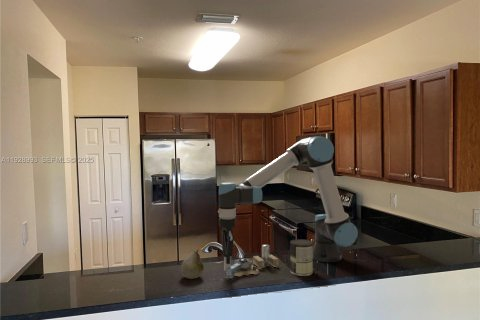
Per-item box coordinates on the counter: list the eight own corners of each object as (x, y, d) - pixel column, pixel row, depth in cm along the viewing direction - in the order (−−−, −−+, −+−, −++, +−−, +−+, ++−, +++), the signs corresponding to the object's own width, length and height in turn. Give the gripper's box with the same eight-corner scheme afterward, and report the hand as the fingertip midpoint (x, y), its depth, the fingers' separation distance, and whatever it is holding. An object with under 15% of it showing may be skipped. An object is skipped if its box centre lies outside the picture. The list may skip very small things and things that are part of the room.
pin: (260, 265, 173) (260, 244, 173) (267, 264, 174) (267, 244, 174) (263, 267, 169) (263, 246, 169) (270, 266, 171) (270, 246, 170)
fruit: (207, 276, 157) (207, 249, 157) (194, 283, 149) (194, 255, 149) (189, 272, 162) (189, 246, 162) (176, 278, 154) (176, 251, 154)
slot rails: (271, 262, 177) (271, 254, 177) (278, 267, 170) (278, 258, 169) (253, 264, 174) (253, 256, 174) (259, 269, 166) (259, 261, 166)
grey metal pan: (240, 263, 169) (240, 256, 169) (254, 266, 165) (254, 258, 165) (221, 274, 155) (221, 265, 155) (236, 277, 151) (236, 268, 151)
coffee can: (286, 272, 162) (285, 242, 161) (297, 267, 170) (297, 238, 169) (306, 277, 155) (306, 246, 155) (316, 271, 163) (316, 241, 163)
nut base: (250, 266, 171) (250, 260, 171) (258, 273, 160) (258, 267, 160) (228, 269, 167) (228, 262, 167) (235, 276, 157) (235, 270, 157)
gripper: (215, 215, 161) (215, 266, 162) (223, 221, 149) (223, 276, 149) (231, 214, 163) (231, 264, 164) (239, 219, 151) (239, 274, 152)
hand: (227, 270), depth 157 cm, fingers closed
